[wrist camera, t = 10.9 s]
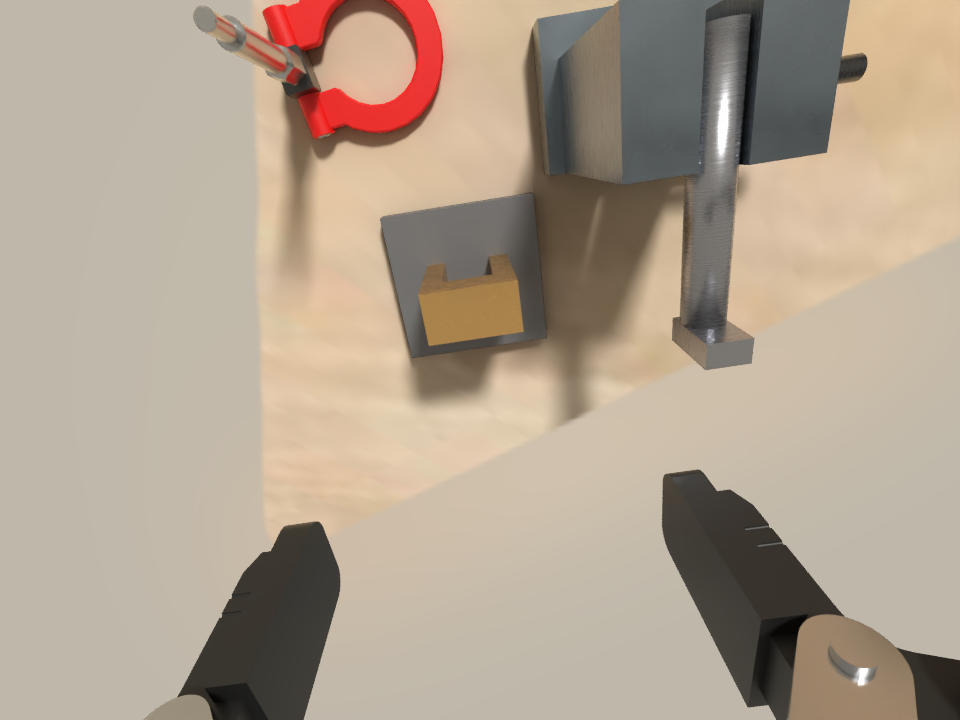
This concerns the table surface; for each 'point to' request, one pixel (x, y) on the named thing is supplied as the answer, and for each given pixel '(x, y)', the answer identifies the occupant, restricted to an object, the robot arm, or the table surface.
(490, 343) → the rubber mat
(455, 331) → the ochre slotted block
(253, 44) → the tow hook
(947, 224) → the table surface
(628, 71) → the vise
